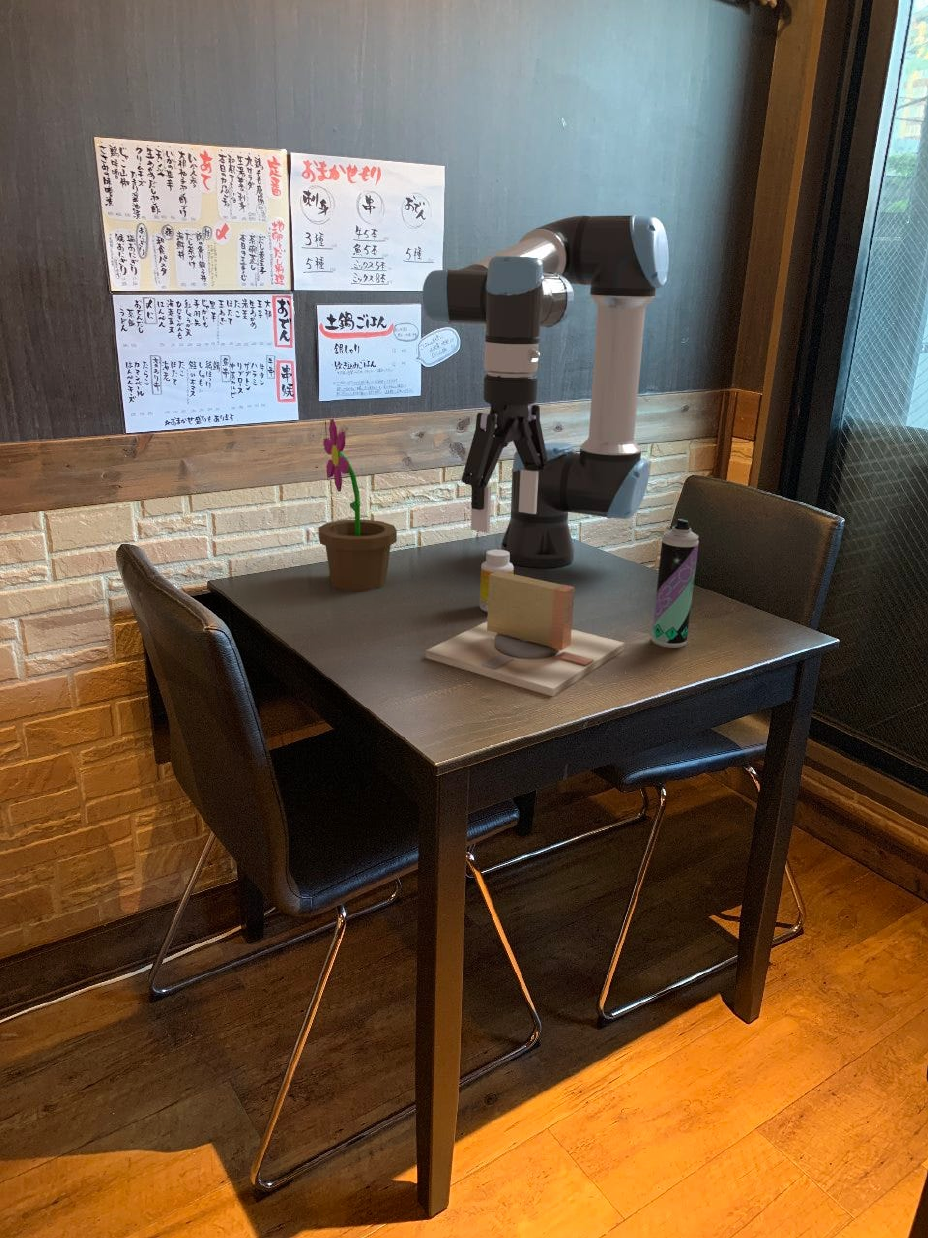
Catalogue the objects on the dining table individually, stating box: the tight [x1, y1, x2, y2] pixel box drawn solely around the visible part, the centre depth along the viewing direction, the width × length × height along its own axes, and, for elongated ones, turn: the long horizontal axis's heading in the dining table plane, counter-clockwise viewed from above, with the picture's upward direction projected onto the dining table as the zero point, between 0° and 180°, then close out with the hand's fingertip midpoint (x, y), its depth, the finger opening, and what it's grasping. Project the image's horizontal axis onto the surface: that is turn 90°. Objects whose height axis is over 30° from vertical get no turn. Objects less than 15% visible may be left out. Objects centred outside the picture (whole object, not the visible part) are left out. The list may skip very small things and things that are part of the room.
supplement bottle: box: [479, 549, 515, 613], centre depth 159 cm, size 6×6×10 cm
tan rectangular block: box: [486, 571, 575, 650], centre depth 140 cm, size 13×3×9 cm, turn 56°
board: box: [425, 620, 626, 698], centre depth 142 cm, size 22×22×2 cm
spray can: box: [651, 518, 700, 649], centre depth 145 cm, size 6×6×20 cm
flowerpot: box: [318, 418, 398, 592], centre depth 168 cm, size 14×14×30 cm
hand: (504, 521), depth 138 cm, fingers open, 13 cm apart
